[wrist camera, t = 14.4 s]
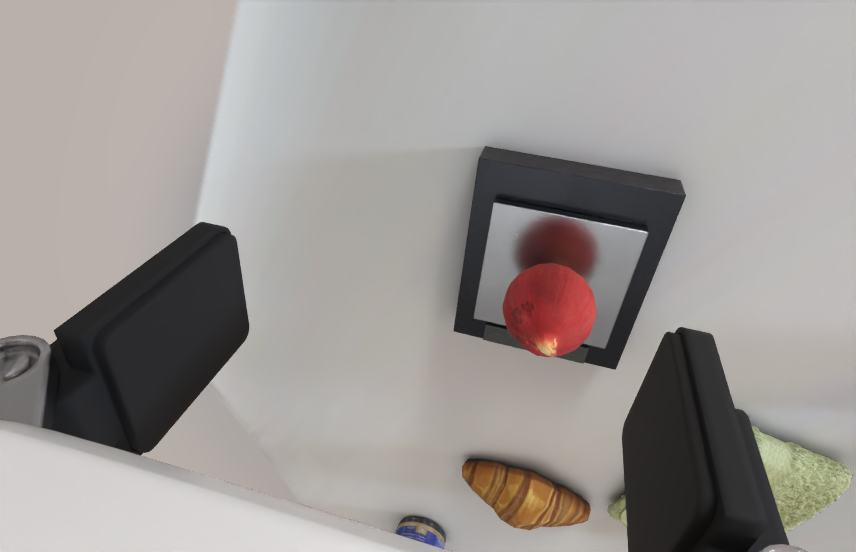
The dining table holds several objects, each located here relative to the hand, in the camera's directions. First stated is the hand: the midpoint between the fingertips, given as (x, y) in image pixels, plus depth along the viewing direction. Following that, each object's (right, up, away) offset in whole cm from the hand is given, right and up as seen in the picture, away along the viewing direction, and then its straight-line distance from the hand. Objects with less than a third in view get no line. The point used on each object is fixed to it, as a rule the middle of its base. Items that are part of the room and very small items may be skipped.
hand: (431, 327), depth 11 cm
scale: (+9, +3, +28) cm, 30 cm away
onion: (+9, +1, +25) cm, 27 cm away
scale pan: (+9, +1, +26) cm, 27 cm away
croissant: (+10, -20, +43) cm, 48 cm away
